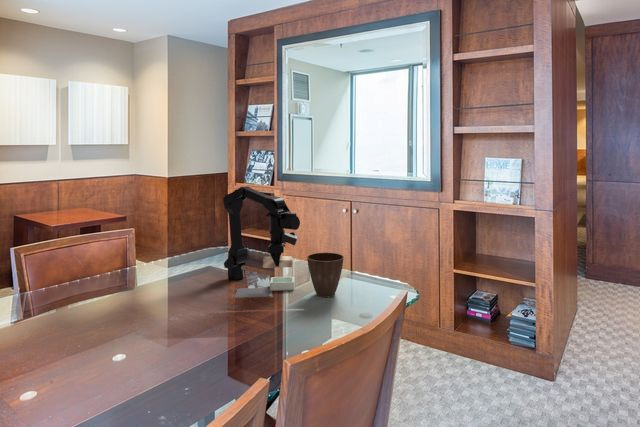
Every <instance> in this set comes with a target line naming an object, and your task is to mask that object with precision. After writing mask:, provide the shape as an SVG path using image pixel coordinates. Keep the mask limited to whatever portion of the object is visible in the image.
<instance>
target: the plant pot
mask: <svg viewBox="0 0 640 427" xmlns="http://www.w3.org/2000/svg"><path fill="white" fill-rule="evenodd" d="M306 260H307V265H308V271H309V275H310V279H311V283H312V285H313V289H314V292H315V293H316V296H317V297H319V298H331V297H334V296H335V295H336V293H337V292H336V291H337V289H338V286H339V283H340V280H341V279H340V278H341V277H342V276H341V275H342V272H343V271H342V270H343V264H344V255H342V254H340V253H335V252H317V253H311V254H308V255H307V256H306Z"/></svg>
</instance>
